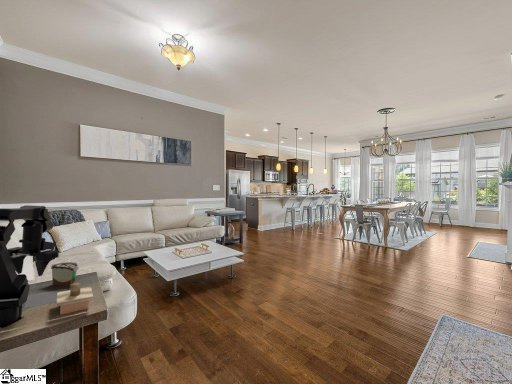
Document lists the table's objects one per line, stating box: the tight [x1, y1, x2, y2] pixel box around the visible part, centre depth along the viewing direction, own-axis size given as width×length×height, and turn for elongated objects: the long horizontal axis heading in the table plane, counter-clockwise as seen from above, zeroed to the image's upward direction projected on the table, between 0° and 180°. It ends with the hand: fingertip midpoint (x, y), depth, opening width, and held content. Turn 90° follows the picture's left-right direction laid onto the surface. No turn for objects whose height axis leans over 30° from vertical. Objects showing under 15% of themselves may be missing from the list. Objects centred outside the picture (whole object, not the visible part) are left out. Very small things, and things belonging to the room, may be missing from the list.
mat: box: [23, 288, 68, 309], centre depth 97 cm, size 13×13×1 cm
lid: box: [56, 282, 94, 307], centre depth 91 cm, size 11×11×5 cm
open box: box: [59, 300, 90, 315], centre depth 91 cm, size 8×8×4 cm
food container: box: [50, 261, 80, 288], centre depth 111 cm, size 12×6×10 cm, turn 84°
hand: (29, 274), depth 92 cm, fingers open, 9 cm apart
